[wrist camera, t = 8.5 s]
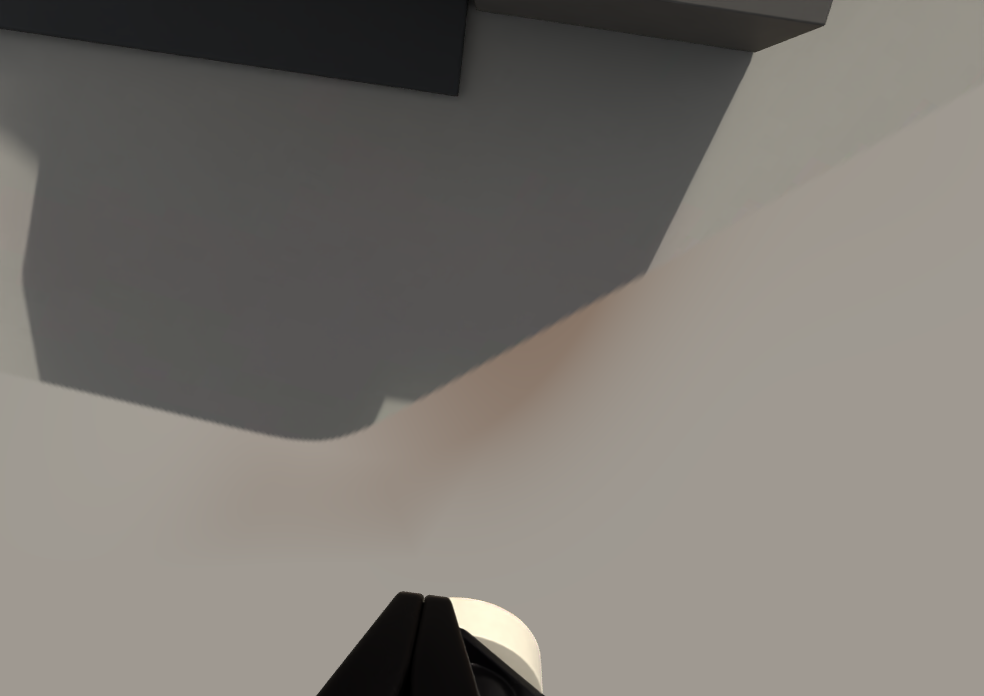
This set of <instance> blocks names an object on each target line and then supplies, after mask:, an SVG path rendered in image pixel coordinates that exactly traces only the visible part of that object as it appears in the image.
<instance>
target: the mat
mask: <svg viewBox="0 0 984 696" xmlns="http://www.w3.org/2000/svg"><path fill="white" fill-rule="evenodd" d="M467 6H468V0H0V29H7V30H14V31H20V32H27V33H34V34H41V35H47V36H54V37H61V38H67V39H74V40H81V41H88V42H94V43H101V44H108V45H115V46H121V47H128V48H135V49H142V50H148V51H155V52H162V53H169V54H175V55H182V56H189V57H196V58H202V59H209V60H216V61H222V62H229V63H236V64H243V65H249V66H256V67H263V68H270V69H276V70H283V71H290V72H297V73H303V74H310V75H317V76H324V77H330V78H337V79H344V80H351V81H357V82H364V83H371V84H378V85H384V86H391V87H398V88H404V89H411V90H418V91H425V92H431V93H438V94H445V95H452V96H458V93H459V83H460V74H461V64H462V54H463V45H464V35H465V25H466V16H467Z"/></svg>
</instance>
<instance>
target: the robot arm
mask: <svg viewBox="0 0 984 696" xmlns="http://www.w3.org/2000/svg"><path fill="white" fill-rule="evenodd" d="M317 696H544V695H543V694H542V693H541V692H539V691H538V690H537V689H536V688H535V687H534V686H532V685H531V684H530V683H529V682H528V681H526V680H525V679H524V678H523V677H522V676H520V675H519V674H518V673H517V672H516V671H514V670H513V669H512V668H511V667H510V666H508V665H507V664H506V663H505V662H504V661H502V660H501V659H500V658H499V657H498V656H496V655H495V654H494V653H493V652H492V651H490V650H489V649H488V648H487V647H486V646H485V645H483V644H482V643H481V642H480V641H479V640H477V639H476V638H475V637H474V636H473V635H471V634H470V633H469V632H468V631H467V630H465V629H463V628H459V624H458V621H457V618H456V614H455V611H454V608H453V604H452V602H451V600H450V599H449V598H447V597H441V596H434V595H428V596H426V597H425V599H424V597H423V595H422V594H419V593H411V592H404V591H403V592H399V593H398V594H397V595H396V596H395V597H394V599H393V600H392V601H391V602H390V604H389V605H388V606H387V607H386V609H385V610H384V611H383V612H382V614H381V615H380V616H379V617H378V619H377V620H376V621H375V622H374V624H373V625H372V626H371V627H370V629H369V630H368V631H367V633H366V634H365V635H364V636H363V638H362V639H361V640H360V641H359V643H358V644H357V645H356V647H355V648H354V649H353V650H352V652H351V653H350V654H349V655H348V656H347V658H346V659H345V660H344V662H343V663H342V664H341V665H340V667H339V668H338V669H337V670H336V672H335V673H334V674H333V675H332V677H331V678H330V679H329V680H328V682H327V683H326V684H325V686H324V687H323V688H322V689H321V691H320V692H319V693H318V694H317Z"/></svg>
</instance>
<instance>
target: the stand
mask: <svg viewBox="0 0 984 696" xmlns="http://www.w3.org/2000/svg"><path fill="white" fill-rule="evenodd" d="M474 1H475V6H476V10H479V11H485V12H492V13H499V14H505V15H512V16H518V17H525V18H532V19H538V20H545V21H551V22H558V23H565V24H571V25H578V26H584V27H591V28H598V29H604V30H611V31H618V32H624V33H631V34H637V35H644V36H651V37H657V38H664V39H670V40H677V41H684V42H690V43H697V44H703V45H710V46H717V47H723V48H730V49H736V50H743V51H750V52H757V51H760V50H763V49H765V48H768V47H770V46H773V45H775V44H778V43H781V42H783V41H786V40H788V39H791V38H794V37H796V36H799V35H801V34H804V33H806V32H809V31H812V30H814V29H817V28H819V27H822V26H824V25H825V24H826V20H827V17H828V14H829V11H830V8H831V4H832V1H833V0H474Z"/></svg>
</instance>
